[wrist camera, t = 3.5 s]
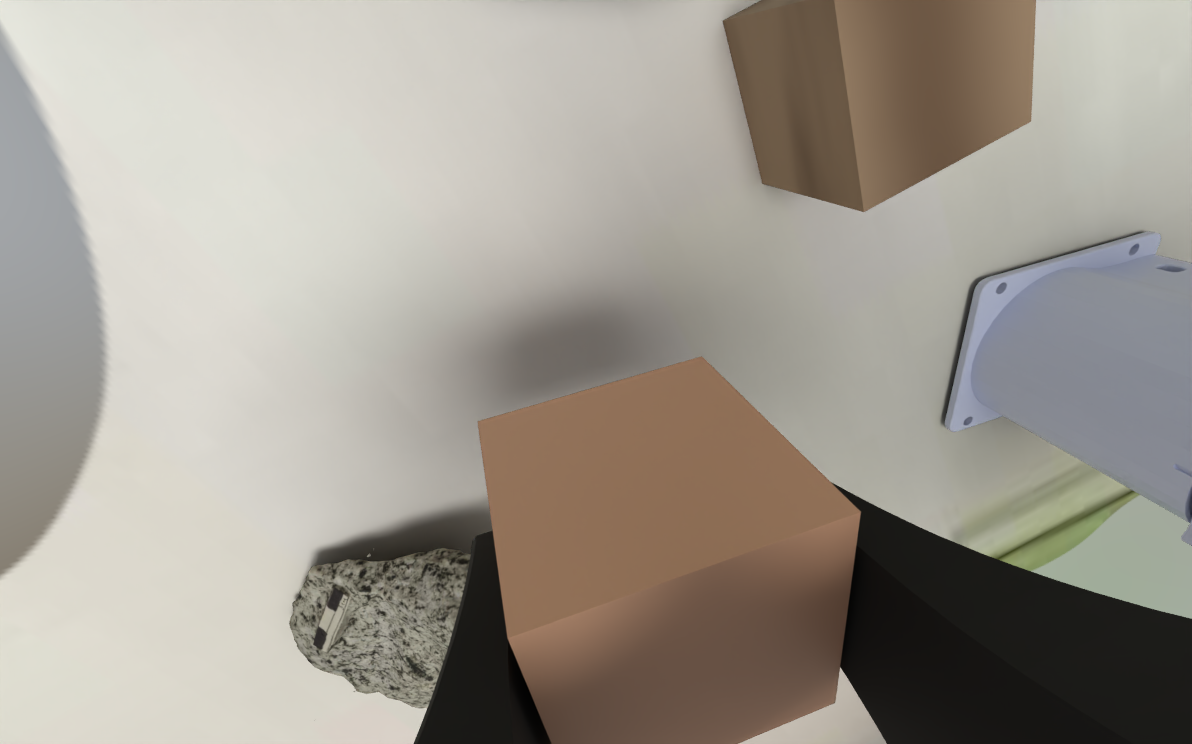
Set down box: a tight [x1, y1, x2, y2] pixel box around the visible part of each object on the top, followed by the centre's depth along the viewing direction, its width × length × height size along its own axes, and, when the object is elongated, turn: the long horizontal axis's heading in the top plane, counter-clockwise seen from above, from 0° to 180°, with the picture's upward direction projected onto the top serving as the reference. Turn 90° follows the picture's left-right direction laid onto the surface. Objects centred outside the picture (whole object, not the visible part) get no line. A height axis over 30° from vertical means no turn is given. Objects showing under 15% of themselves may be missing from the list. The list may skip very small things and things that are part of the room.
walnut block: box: [723, 0, 1036, 212], centre depth 14 cm, size 5×5×5 cm
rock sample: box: [289, 548, 471, 721], centre depth 20 cm, size 10×8×9 cm
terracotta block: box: [478, 356, 861, 744], centre depth 10 cm, size 5×5×5 cm
